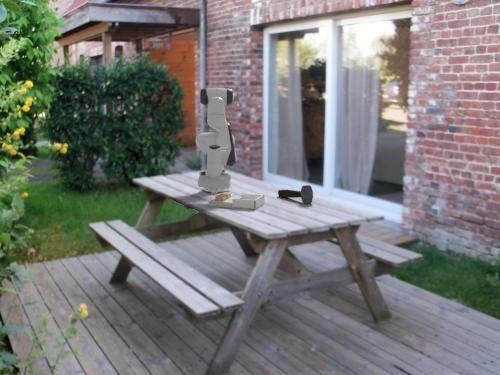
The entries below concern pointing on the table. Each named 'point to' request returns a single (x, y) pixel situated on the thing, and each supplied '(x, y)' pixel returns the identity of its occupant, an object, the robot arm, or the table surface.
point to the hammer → (298, 194)
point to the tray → (248, 201)
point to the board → (223, 202)
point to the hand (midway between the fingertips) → (214, 195)
